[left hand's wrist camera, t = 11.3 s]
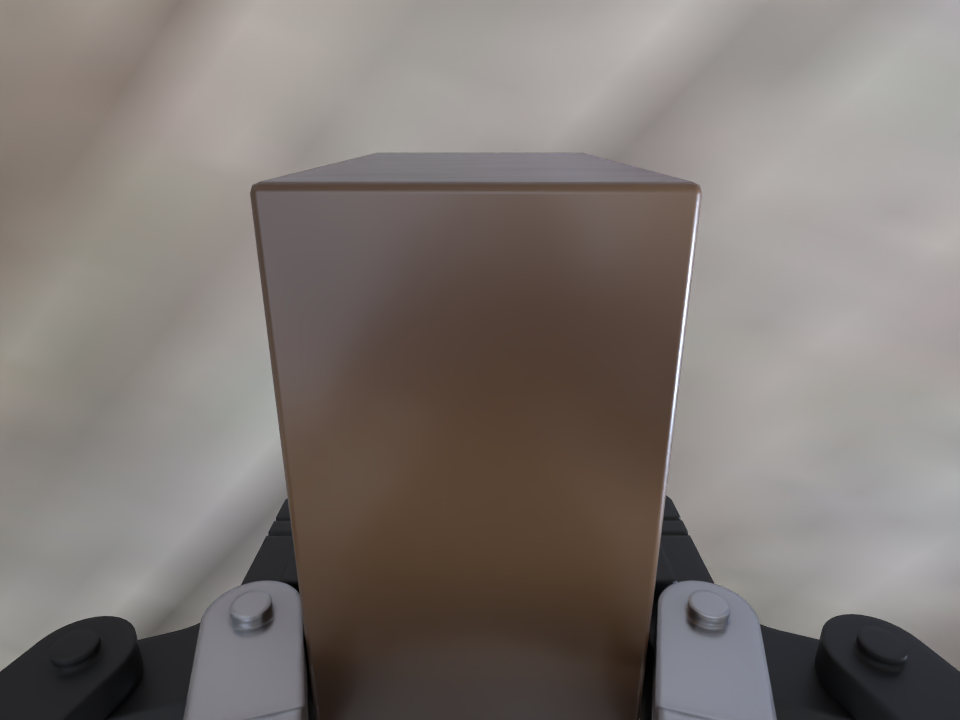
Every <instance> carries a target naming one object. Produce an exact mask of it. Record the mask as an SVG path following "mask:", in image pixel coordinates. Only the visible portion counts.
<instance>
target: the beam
mask: <svg viewBox="0 0 960 720" xmlns="http://www.w3.org/2000/svg"><path fill="white" fill-rule="evenodd" d="M250 196H251V204H252V213H253V221H254V229H255V237H256V245H257V253H258V261H259V269H260V277H261V285H262V293H263V301H264V310H265V318H266V326H267V334H268V342H269V350H270V358H271V366H272V374H273V382H274V390H275V398H276V407H277V415H278V423H279V431H280V439H281V447H282V455H283V463H284V471H285V479H286V487H287V495H288V504H289V512H290V520H291V528H292V536H293V544H294V552H295V560H296V568H297V576H298V584H299V592H300V601H301V609H302V617H303V625H304V633H305V641H306V649H307V657H308V665H309V673H310V681H311V689H312V698H313V706H314V714H315V720H639V716H640V707H641V699H642V691H643V682H644V674H645V666H646V657H647V649H648V640H649V632H650V624H651V615H652V607H653V599H654V590H655V582H656V574H657V565H658V557H659V548H660V540H661V532H662V523H663V515H664V507H665V498H666V490H667V481H668V473H669V465H670V456H671V448H672V440H673V431H674V423H675V414H676V406H677V398H678V389H679V381H680V373H681V364H682V356H683V347H684V339H685V331H686V322H687V314H688V306H689V297H690V289H691V280H692V272H693V264H694V255H695V247H696V239H697V230H698V222H699V213H700V205H701V197H702V192H701V188H700V185H698V184H696V183H693V182H690V181H687V180H683V179H679V178H675V177H671V176H668V175H664V174H660V173H656V172H652V171H649V170H645V169H641V168H637V167H634V166H630V165H626V164H622V163H618V162H615V161H611V160H607V159H603V158H599V157H596V156H592V155H588V154H584V153H375V154H370V155H366V156H362V157H358V158H354V159H350V160H346V161H342V162H338V163H334V164H330V165H326V166H322V167H318V168H314V169H310V170H306V171H302V172H297V173H293V174H289V175H285V176H281V177H277V178H273V179H269V180H265V181H261V182H258V183H256V184H254V185H252V188H251V192H250Z"/></svg>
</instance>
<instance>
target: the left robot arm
mask: <svg viewBox="0 0 960 720" xmlns="http://www.w3.org/2000/svg"><path fill="white" fill-rule="evenodd" d="M639 718H640V720H960V672H959V671H958V670H957V669H955V668H954V667H953V666H952V665H950V664H949V663H948V662H947V661H945V660H944V659H943V658H941V657H940V656H939V655H938V654H936V653H935V652H934V651H932V650H931V649H930V648H929V647H927V646H926V645H925V644H924V643H922V642H921V641H920V640H918V639H917V638H916V637H914V636H913V635H911V634H910V633H908V632H906V631H905V630H903V629H901V628H899V627H897V626H895V625H893V624H891V623H888V622H886V621H883V620H880V619H877V618H874V617H869V616H864V615H855V614H847V615H840V616H836V617H834V618H831V619H830V620H828V621H827V622H826V623H825V625H824V626H823V629H822V632H821V636H820V640H818V639H814V638H809V637H805V636H801V635H797V634H792V633H788V632H784V631H780V630H776V629H772V628H769V627H766V626H763V625H761V624H760V623H759V619H758V616H757V615H756V613H755V611H754V610H753V608H752V607H751V606H750V605H749V604H748V603H747V602H746V601H745V600H744V599H743V598H742V597H740V596H739V595H738V594H736V593H734V592H732V591H731V590H729V589H727V588H724V587H722V586H719V585H716V584H714V582H713V580H712V578H711V576H710V574H709V572H708V570H707V568H706V566H705V564H704V562H703V560H702V559H701V557H700V555H699V553H698V551H697V549H696V547H695V545H694V543H693V541H692V539H691V537H690V535H688V531H687V529H686V527H685V525H684V523H683V521H681V520H680V515H679V513H678V512H677V510H676V508H675V506H674V504H673V502H672V500H671V499H670V498H669V497H668V496H666V498H665V507H664V515H663V523H662V532H661V540H660V548H659V557H658V565H657V574H656V582H655V590H654V599H653V607H652V615H651V624H650V632H649V640H648V649H647V657H646V666H645V674H644V682H643V691H642V699H641V707H640V716H639ZM0 720H315V714H314V706H313V698H312V689H311V681H310V673H309V665H308V657H307V649H306V641H305V633H304V625H303V617H302V609H301V601H300V592H299V584H298V576H297V568H296V560H295V552H294V544H293V536H292V528H291V520H290V512H289V504H288V498H287V499H286V500H285V502H284V503H283V505H282V507H281V509H280V511H279V513H278V515H277V517H276V521H274V523H273V525H272V527H271V528H270V530H269V535H268V536H266V538H265V540H264V542H263V544H262V546H261V548H260V550H259V552H258V553H257V555H256V557H255V559H254V561H253V563H252V565H251V567H250V569H249V571H248V573H247V575H246V576H245V578H244V580H243V582H242V584H241V586H238V587H236V588H234V589H231V590H229V591H228V592H226V593H224V594H223V595H221V596H220V597H219V598H217V599H216V600H215V601H214V602H213V603H212V604H211V605H210V606H209V607H208V608H207V610H206V611H205V613H204V615H203V616H202V620H201V623H199V624H197V625H194V626H191V627H189V628H186V629H182V630H179V631H175V632H171V633H166V634H162V635H158V636H154V637H149V638H145V639H141V640H138V639H137V635H136V631H135V628H134V627H133V626H132V624H131V623H129V622H128V621H127V620H124V619H122V618H119V617H113V616H101V617H93V618H88V619H84V620H80V621H77V622H74V623H72V624H69V625H66V626H64V627H62V628H60V629H58V630H56V631H54V632H53V633H51V634H49V635H48V636H46V637H45V638H43V639H42V640H40V641H39V642H38V643H36V644H35V645H34V646H33V647H31V648H30V649H29V650H28V651H26V652H25V653H24V654H22V655H21V656H20V657H19V658H17V659H16V660H15V661H13V662H12V663H11V664H10V665H8V666H7V667H6V668H5V669H3V670H2V671H1V672H0Z"/></svg>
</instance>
